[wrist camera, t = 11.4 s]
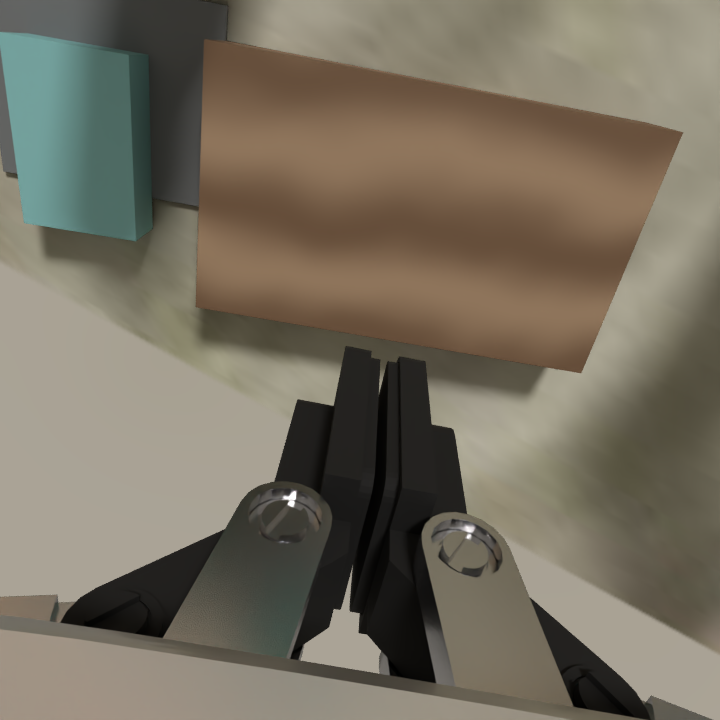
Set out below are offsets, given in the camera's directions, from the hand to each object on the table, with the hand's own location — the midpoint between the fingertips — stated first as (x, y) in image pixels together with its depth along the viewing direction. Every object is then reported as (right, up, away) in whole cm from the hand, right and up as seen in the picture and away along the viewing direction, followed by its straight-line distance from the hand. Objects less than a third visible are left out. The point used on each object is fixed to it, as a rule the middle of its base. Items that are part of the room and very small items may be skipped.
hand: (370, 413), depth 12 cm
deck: (+3, +10, +20) cm, 22 cm away
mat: (-13, +15, +18) cm, 27 cm away
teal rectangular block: (-15, +12, +16) cm, 25 cm away
